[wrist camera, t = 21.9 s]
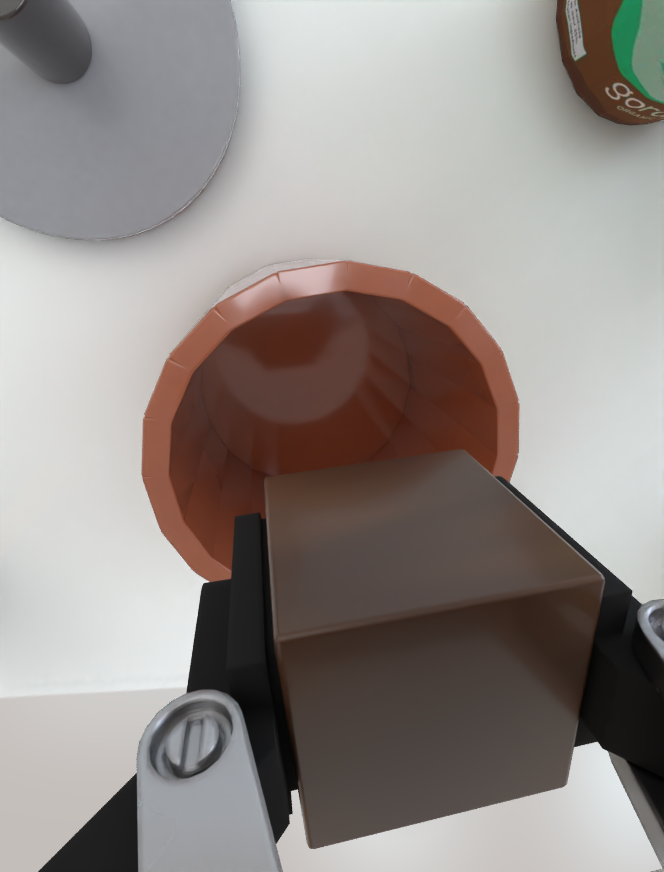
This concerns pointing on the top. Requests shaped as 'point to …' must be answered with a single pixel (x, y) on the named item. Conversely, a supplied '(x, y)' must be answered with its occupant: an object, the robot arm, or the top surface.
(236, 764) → the robot arm
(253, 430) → the canister
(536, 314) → the top surface
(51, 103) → the lid
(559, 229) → the top surface
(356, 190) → the top surface
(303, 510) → the block
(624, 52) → the food container
